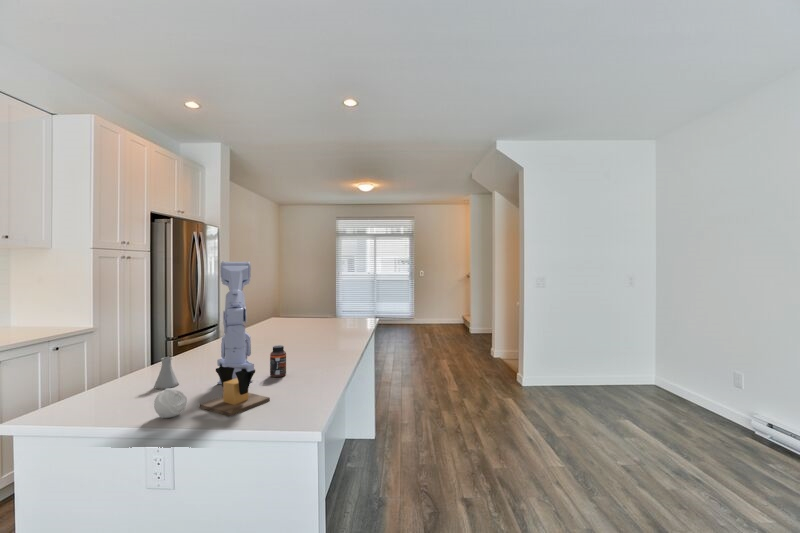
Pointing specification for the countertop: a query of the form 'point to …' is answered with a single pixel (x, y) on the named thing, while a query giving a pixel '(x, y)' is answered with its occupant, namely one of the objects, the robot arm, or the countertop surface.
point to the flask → (166, 375)
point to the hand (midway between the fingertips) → (235, 391)
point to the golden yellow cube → (233, 392)
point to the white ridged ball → (169, 403)
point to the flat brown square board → (231, 409)
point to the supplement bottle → (278, 362)
